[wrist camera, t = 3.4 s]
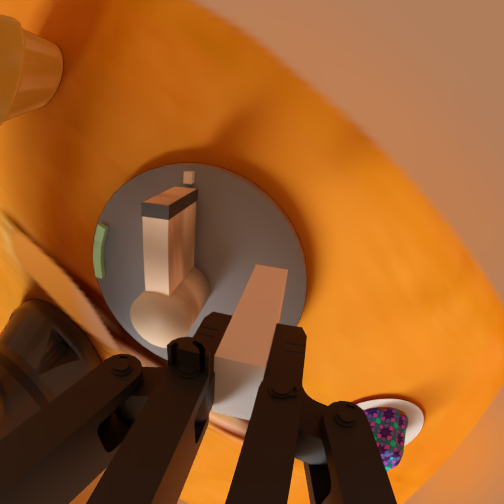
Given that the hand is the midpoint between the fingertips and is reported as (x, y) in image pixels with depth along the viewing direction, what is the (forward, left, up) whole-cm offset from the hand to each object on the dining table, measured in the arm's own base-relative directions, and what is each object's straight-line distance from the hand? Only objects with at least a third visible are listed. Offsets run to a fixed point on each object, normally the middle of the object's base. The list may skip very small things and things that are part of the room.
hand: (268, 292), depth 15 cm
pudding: (-21, -13, -9) cm, 26 cm away
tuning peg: (-2, +7, -7) cm, 9 cm away
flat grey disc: (-5, +7, -9) cm, 12 cm away
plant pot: (+12, +24, -9) cm, 28 cm away
